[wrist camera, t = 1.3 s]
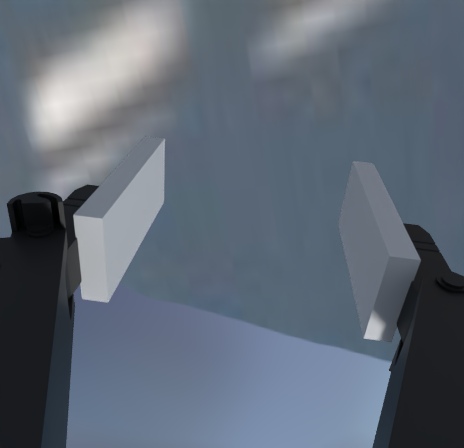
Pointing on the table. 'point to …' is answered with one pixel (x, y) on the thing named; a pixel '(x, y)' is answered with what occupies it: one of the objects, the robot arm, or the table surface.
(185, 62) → the table surface
